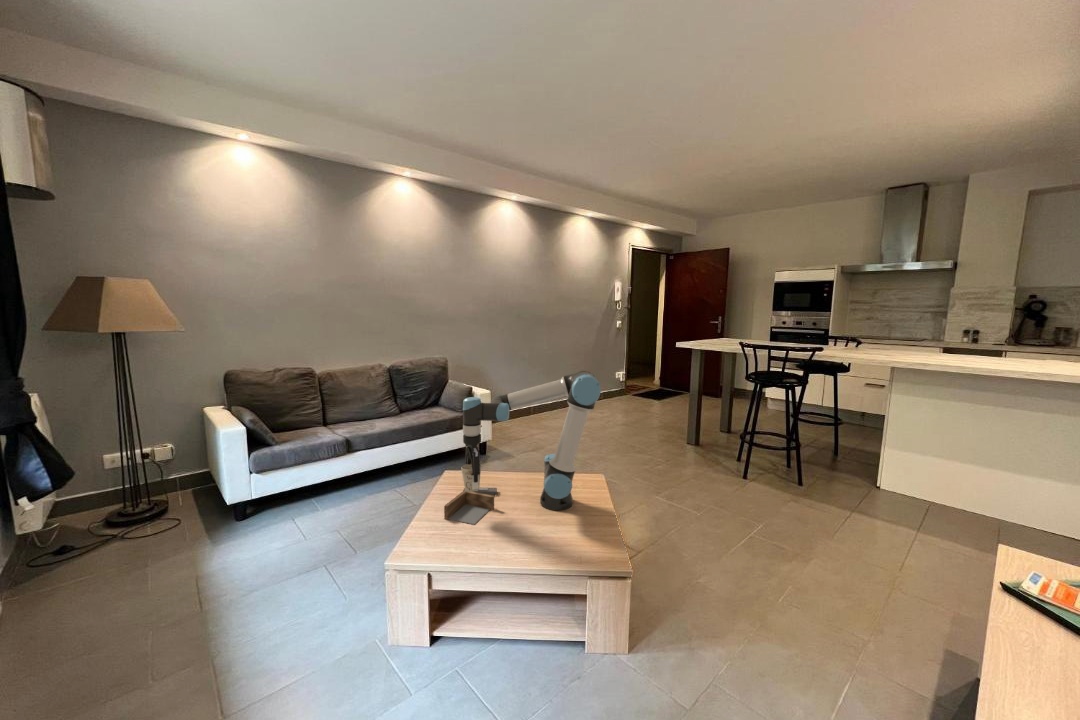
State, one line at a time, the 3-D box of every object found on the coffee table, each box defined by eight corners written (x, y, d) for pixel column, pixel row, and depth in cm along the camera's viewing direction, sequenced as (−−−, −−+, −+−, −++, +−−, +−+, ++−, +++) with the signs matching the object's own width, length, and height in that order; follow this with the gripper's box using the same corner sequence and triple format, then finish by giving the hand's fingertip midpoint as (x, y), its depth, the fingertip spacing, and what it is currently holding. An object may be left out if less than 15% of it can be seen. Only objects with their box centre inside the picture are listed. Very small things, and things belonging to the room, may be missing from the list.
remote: (497, 491, 210) (496, 486, 209) (495, 495, 205) (495, 490, 205) (464, 491, 210) (464, 486, 210) (463, 495, 206) (462, 490, 205)
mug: (459, 492, 179) (458, 469, 179) (469, 482, 192) (468, 460, 191) (478, 493, 178) (477, 469, 177) (487, 482, 190) (486, 460, 190)
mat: (490, 509, 191) (490, 508, 191) (474, 524, 178) (474, 524, 178) (465, 504, 195) (465, 504, 195) (448, 519, 182) (448, 518, 182)
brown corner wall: (494, 508, 192) (494, 495, 191) (476, 525, 177) (476, 512, 176) (464, 502, 198) (464, 490, 197) (444, 519, 182) (444, 505, 182)
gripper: (487, 439, 173) (488, 493, 176) (474, 426, 191) (474, 475, 194) (469, 441, 170) (470, 496, 173) (457, 428, 188) (458, 477, 191)
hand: (472, 485), depth 184 cm, fingers open, 7 cm apart
